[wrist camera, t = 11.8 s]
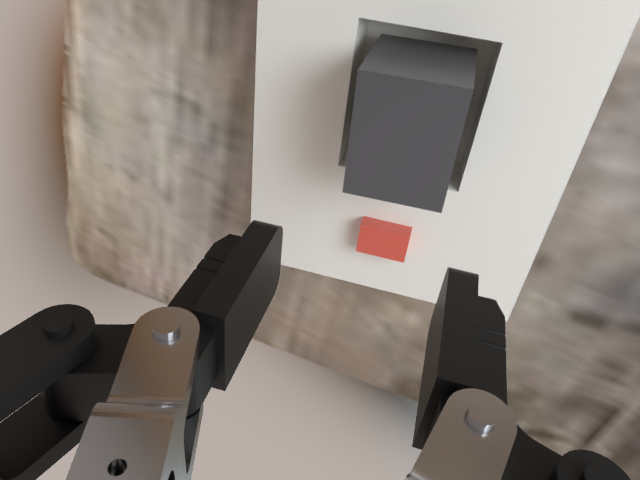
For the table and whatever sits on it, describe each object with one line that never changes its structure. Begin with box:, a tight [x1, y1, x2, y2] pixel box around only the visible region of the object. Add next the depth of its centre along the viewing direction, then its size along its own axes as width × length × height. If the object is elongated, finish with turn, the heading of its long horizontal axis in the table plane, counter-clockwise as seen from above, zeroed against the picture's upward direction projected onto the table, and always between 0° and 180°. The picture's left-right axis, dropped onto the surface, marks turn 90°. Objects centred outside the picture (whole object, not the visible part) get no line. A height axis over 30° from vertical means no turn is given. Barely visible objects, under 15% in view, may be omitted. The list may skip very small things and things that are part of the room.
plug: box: [342, 34, 477, 213], centre depth 22 cm, size 5×4×6 cm
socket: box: [251, 0, 640, 321], centre depth 25 cm, size 16×14×5 cm
